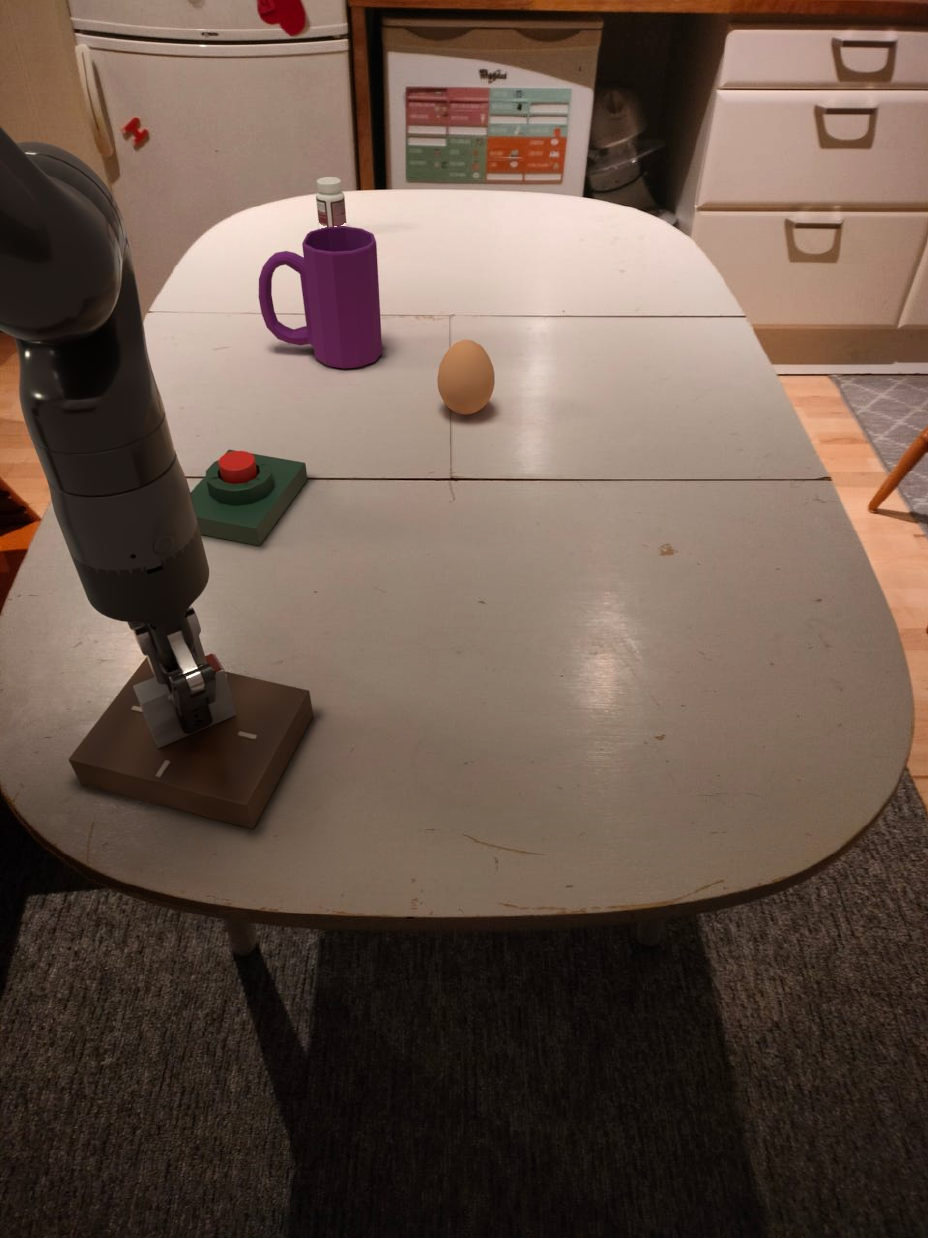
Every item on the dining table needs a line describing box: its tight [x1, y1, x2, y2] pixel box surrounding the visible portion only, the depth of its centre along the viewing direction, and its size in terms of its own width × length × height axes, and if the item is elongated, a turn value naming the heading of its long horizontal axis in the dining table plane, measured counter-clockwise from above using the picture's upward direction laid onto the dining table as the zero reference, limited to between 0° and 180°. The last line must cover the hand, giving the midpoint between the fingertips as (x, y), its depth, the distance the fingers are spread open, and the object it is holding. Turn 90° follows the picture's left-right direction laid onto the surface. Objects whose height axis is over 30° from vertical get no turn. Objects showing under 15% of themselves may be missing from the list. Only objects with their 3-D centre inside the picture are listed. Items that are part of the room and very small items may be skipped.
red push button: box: [218, 450, 257, 484], centre depth 85 cm, size 4×4×2 cm
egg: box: [436, 339, 495, 415], centre depth 100 cm, size 7×7×9 cm
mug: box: [258, 225, 383, 370], centre depth 108 cm, size 9×16×15 cm, turn 87°
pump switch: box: [190, 449, 308, 546], centre depth 87 cm, size 12×9×4 cm
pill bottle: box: [315, 176, 347, 227], centre depth 142 cm, size 5×5×8 cm
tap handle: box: [133, 653, 236, 748], centre depth 61 cm, size 6×2×5 cm, turn 123°
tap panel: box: [68, 656, 314, 830], centre depth 64 cm, size 14×11×3 cm
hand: (191, 714), depth 62 cm, fingers closed on tap handle, 2 cm apart
